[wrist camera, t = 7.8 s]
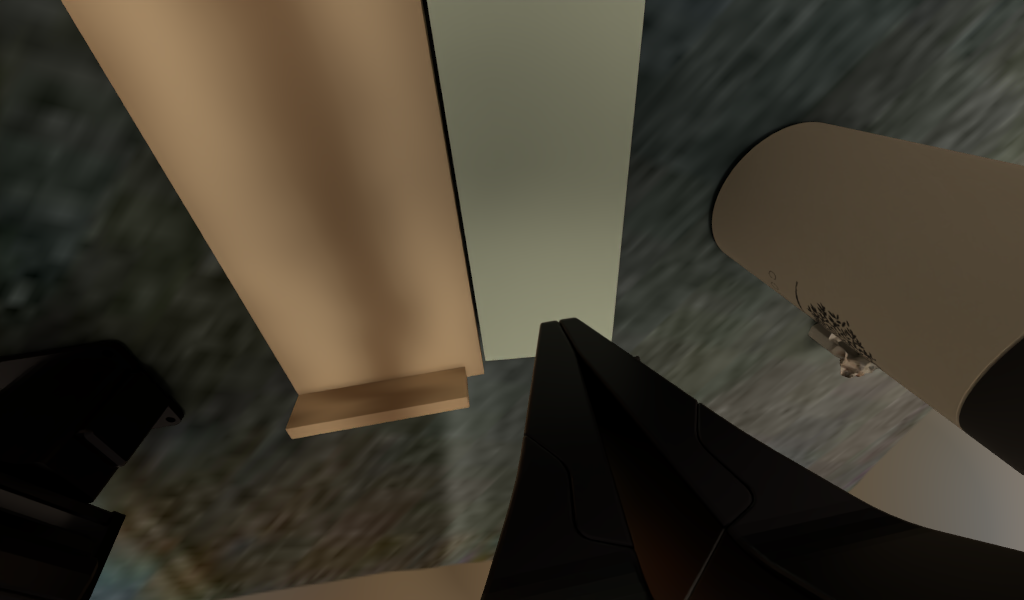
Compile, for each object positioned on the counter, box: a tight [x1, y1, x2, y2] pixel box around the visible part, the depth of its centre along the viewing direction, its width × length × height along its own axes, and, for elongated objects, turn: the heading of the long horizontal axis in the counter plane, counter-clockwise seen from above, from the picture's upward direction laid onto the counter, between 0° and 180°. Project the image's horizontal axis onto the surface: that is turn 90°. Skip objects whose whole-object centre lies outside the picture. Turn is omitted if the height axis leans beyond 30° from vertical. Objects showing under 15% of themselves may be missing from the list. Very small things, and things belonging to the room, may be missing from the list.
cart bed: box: [61, 0, 484, 439], centre depth 16 cm, size 10×20×5 cm, turn 5°
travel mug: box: [712, 122, 1024, 475], centre depth 14 cm, size 8×8×18 cm
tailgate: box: [427, 0, 645, 361], centre depth 17 cm, size 2×18×7 cm
